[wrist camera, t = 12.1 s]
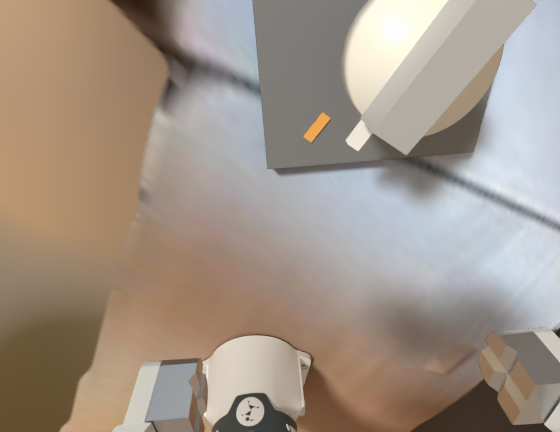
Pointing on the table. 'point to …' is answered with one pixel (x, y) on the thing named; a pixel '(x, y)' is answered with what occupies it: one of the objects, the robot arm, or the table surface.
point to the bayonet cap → (422, 63)
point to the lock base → (325, 90)
